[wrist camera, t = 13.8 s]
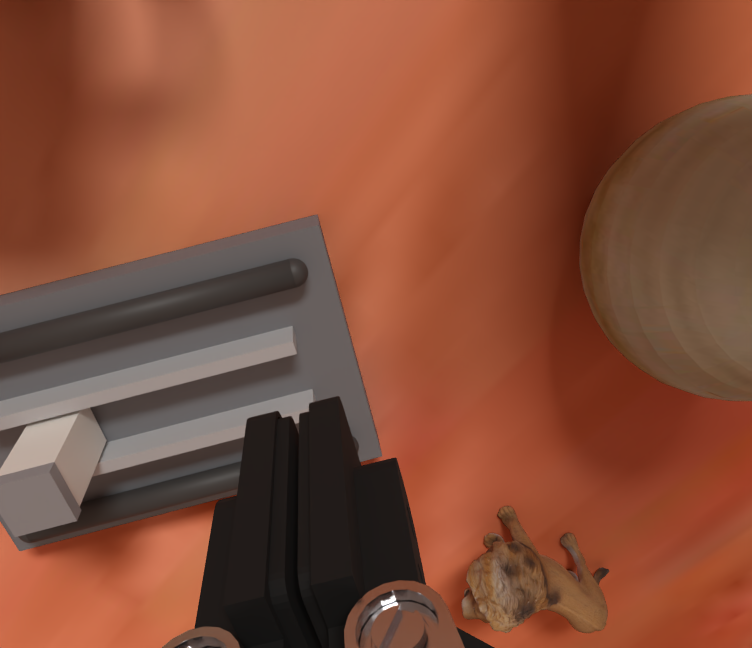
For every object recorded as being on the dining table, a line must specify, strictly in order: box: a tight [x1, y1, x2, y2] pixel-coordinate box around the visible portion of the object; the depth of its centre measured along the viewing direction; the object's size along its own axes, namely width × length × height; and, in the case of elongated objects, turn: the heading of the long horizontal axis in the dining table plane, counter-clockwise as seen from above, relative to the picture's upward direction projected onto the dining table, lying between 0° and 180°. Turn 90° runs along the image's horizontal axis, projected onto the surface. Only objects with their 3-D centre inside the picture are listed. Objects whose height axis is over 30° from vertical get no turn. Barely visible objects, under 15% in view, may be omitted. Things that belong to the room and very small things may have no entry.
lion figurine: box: [462, 506, 609, 633], centre depth 46 cm, size 15×5×9 cm, turn 65°
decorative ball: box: [579, 94, 752, 401], centre depth 33 cm, size 15×15×15 cm
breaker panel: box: [0, 215, 382, 551], centre depth 39 cm, size 24×16×4 cm, turn 103°
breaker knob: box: [0, 408, 107, 537], centre depth 35 cm, size 3×3×7 cm
